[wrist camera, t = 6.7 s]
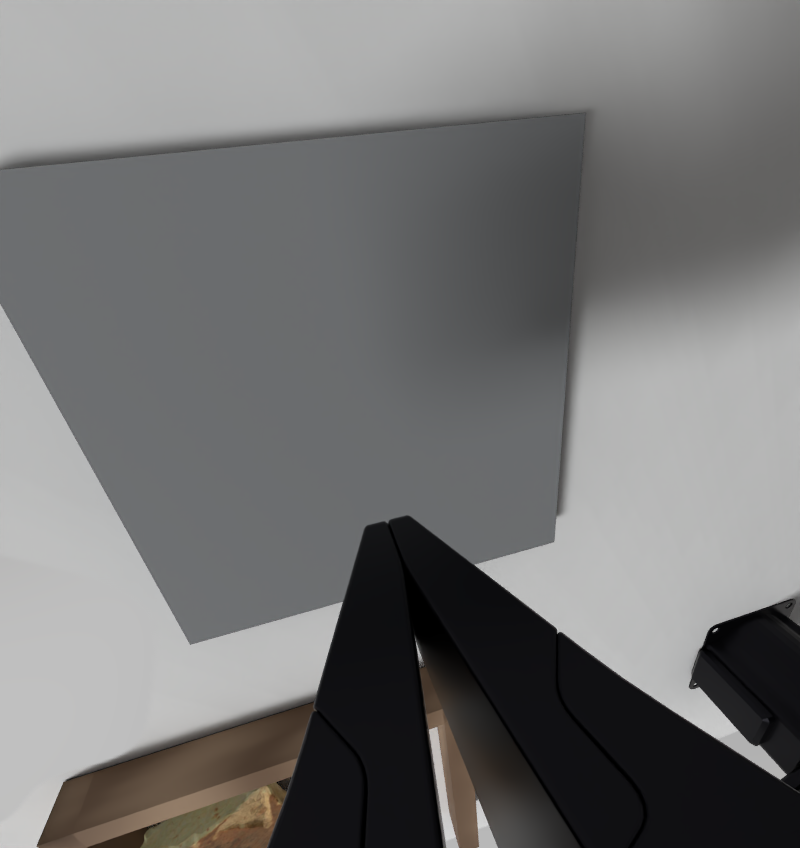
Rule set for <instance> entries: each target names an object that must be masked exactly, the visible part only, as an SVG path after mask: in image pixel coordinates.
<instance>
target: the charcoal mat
mask: <svg viewBox="0 0 800 848" xmlns="http://www.w3.org/2000/svg"><path fill="white" fill-rule="evenodd" d="M585 116H586V113H577V114H567V115H557V116H546V117H536V118H526V119H516V120H505V121H495V122H485V123H475V124H464V125H454V126H444V127H433V128H423V129H413V130H403V131H392V132H382V133H372V134H362V135H351V136H341V137H331V138H321V139H310V140H300V141H290V142H280V143H269V144H259V145H249V146H239V147H228V148H218V149H208V150H197V151H187V152H177V153H167V154H156V155H146V156H136V157H126V158H115V159H105V160H95V161H85V162H74V163H64V164H54V165H44V166H33V167H23V168H13V169H3V170H0V304H1V306H2V307H3V309H4V311H5V313H6V315H7V316H8V318H9V320H10V322H11V324H12V325H13V327H14V329H15V331H16V333H17V334H18V336H19V338H20V340H21V342H22V343H23V345H24V347H25V349H26V351H27V352H28V354H29V356H30V358H31V359H32V361H33V363H34V365H35V367H36V368H37V370H38V372H39V374H40V376H41V377H42V379H43V381H44V383H45V385H46V386H47V388H48V390H49V392H50V394H51V395H52V397H53V399H54V401H55V403H56V404H57V406H58V408H59V410H60V412H61V413H62V415H63V417H64V419H65V421H66V422H67V424H68V426H69V428H70V430H71V431H72V433H73V435H74V437H75V439H76V440H77V442H78V444H79V446H80V448H81V449H82V451H83V453H84V455H85V456H86V458H87V460H88V462H89V464H90V465H91V467H92V469H93V471H94V473H95V474H96V476H97V478H98V480H99V482H100V483H101V485H102V487H103V489H104V491H105V492H106V494H107V496H108V498H109V500H110V501H111V503H112V505H113V507H114V509H115V510H116V512H117V514H118V516H119V518H120V519H121V521H122V523H123V525H124V527H125V528H126V530H127V532H128V534H129V536H130V537H131V539H132V541H133V543H134V545H135V546H136V548H137V550H138V552H139V553H140V555H141V557H142V559H143V561H144V562H145V564H146V566H147V568H148V570H149V571H150V573H151V575H152V577H153V579H154V580H155V582H156V584H157V586H158V588H159V589H160V591H161V593H162V595H163V597H164V598H165V600H166V602H167V604H168V606H169V607H170V609H171V611H172V613H173V615H174V616H175V618H176V620H177V622H178V624H179V625H180V627H181V629H182V631H183V633H184V634H185V636H186V638H187V640H188V642H189V643H190V645H191V644H194V643H198V642H201V641H205V640H208V639H212V638H215V637H219V636H223V635H226V634H230V633H233V632H237V631H240V630H244V629H247V628H251V627H254V626H258V625H262V624H265V623H269V622H272V621H276V620H279V619H283V618H286V617H290V616H293V615H297V614H301V613H304V612H308V611H311V610H315V609H318V608H322V607H325V606H329V605H333V604H336V603H340V602H343V600H344V597H345V593H346V590H347V587H348V583H349V580H350V576H351V573H352V569H353V566H354V562H355V559H356V555H357V552H358V548H359V545H360V541H361V538H362V534H363V531H364V528H365V527H366V526H367V525H370V524H374V523H377V522H381V521H385V522H387V523H388V521H389V520H390V519H393V518H397V517H401V516H405V515H409V516H411V517H412V518H414V519H415V520H416V521H418V522H419V523H420V524H421V525H423V526H424V527H425V528H427V529H428V530H429V531H431V532H432V533H433V534H434V535H436V536H437V537H438V538H440V539H441V540H442V541H444V542H445V543H446V544H447V545H449V546H450V547H451V548H453V549H454V550H455V551H457V552H458V553H459V554H460V555H462V556H463V557H464V558H466V559H467V560H468V561H470V562H471V563H472V564H473V565H474V564H478V563H481V562H485V561H489V560H492V559H496V558H499V557H503V556H506V555H510V554H513V553H517V552H520V551H524V550H528V549H531V548H535V547H538V546H542V545H545V544H549V543H552V542H554V539H555V525H556V511H557V498H558V484H559V471H560V457H561V443H562V430H563V416H564V402H565V389H566V375H567V362H568V348H569V334H570V321H571V307H572V293H573V280H574V266H575V253H576V239H577V225H578V212H579V198H580V184H581V171H582V157H583V144H584V130H585Z"/></svg>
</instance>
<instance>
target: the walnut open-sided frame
mask: <svg viewBox="0 0 800 848" xmlns="http://www.w3.org/2000/svg"><path fill="white" fill-rule="evenodd" d="M420 674H421V680H422V687H423V694H424V701H425V708H426V714H427V721H428V728H429V729H432V728H435V727H438V734H439V741H440V748H441V755H442V762H443V769H444V777H445V784H446V791H447V798H448V805H449V812H450V816H451V820H452V824H453V827H454V831H455V835H456V839H457V842H458V845H459V848H477V847H479V842H478V827H477V813H476V799H475V789H474V786H473V784H472V781H471V779H470V776H469V774H468V771H467V769H466V766H465V764H464V761H463V759H462V756H461V754H460V751H459V749H458V746H457V744H456V741H455V739H454V736H453V734H452V731H451V729H450V726H449V724H448V721H447V719H446V716H445V714H444V711H443V709H442V706H441V704H440V701H439V699H438V696H437V694H436V691H435V689H434V686H433V684H432V681H431V679H430V676H429V674H428V671H427V669H426V667H423V668H420ZM313 705H314V702H313V703H310V704H307V705H304V706H301V707H298V708H294V709H291V710H288V711H285V712H282V713H279V714H276V715H272V716H269V717H266V718H263V719H260V720H257V721H254V722H250V723H247V724H244V725H241V726H238V727H235V728H232V729H228V730H225V731H222V732H219V733H216V734H213V735H210V736H206V737H203V738H200V739H197V740H194V741H191V742H188V743H184V744H181V745H178V746H175V747H172V748H169V749H166V750H162V751H159V752H156V753H153V754H150V755H147V756H144V757H140V758H137V759H134V760H131V761H128V762H125V763H122V764H118V765H115V766H112V767H109V768H106V769H103V770H100V771H96V772H93V773H90V774H87V775H84V776H81V777H78V778H74V779H71V780H68V781H65V782H63V785H62V787H61V790H60V792H59V794H58V797H57V799H56V801H55V804H54V806H53V809H52V811H51V813H50V816H49V818H48V820H47V823H46V825H45V828H44V830H43V832H42V835H41V837H40V839H39V842H38V844H37V847H38V848H140V847H141V846H142V844H143V842H144V834H145V833H146V831H147V830H148V828H147V826H150V825H153V824H156V823H159V822H162V821H165V820H167V819H170V818H173V817H176V816H179V815H182V814H185V813H188V812H191V811H194V810H196V809H199V808H202V807H205V806H208V805H211V804H214V803H217V802H220V801H223V800H225V799H228V798H231V797H234V796H237V795H240V794H243V793H246V792H249V791H252V790H255V789H257V788H260V787H263V786H266V785H269V784H272V783H275V782H278V781H281V780H284V779H286V778H289V777H292V774H293V771H294V768H295V765H296V761H297V758H298V755H299V752H300V749H301V746H302V742H303V739H304V735H305V732H306V728H307V725H308V721H309V718H310V715H311V713H312V712H313V711H314V708H313Z"/></svg>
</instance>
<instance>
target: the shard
mask: <svg viewBox="0 0 800 848" xmlns="http://www.w3.org/2000/svg"><path fill="white" fill-rule="evenodd" d="M286 793H287V791H285V790H283V789H282V788H281V787H280V786H279V785H278V784H277V783H276V782H275V783H272V784H269V785H266V786H263V787H260V788H257V789H255V790H252V791H249V792H246V793H243V794H240V795H237V796H234V797H231V798H228V799H225V800H223V801H220V802H217V803H214V804H211V805H208V806H205V807H202V808H199V809H196V810H194V811H191V812H188V813H185V814H182V815H179V816H176V817H173V818H170V819H168V820H166V821H164V822H162V823H161V824H159V825H157V826H155V827H153V828H150V829H148V830H147V831H146V833H145V834H144V842H143V844H142V846H141V847H140V848H267V845H268V843H269V840H270V837H271V834H272V832H273V829H274V826H275V824H276V821H277V818H278V815H279V813H280V810H281V807H282V805H283V802H284V799H285V796H286Z"/></svg>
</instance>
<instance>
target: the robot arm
mask: <svg viewBox="0 0 800 848" xmlns="http://www.w3.org/2000/svg"><path fill="white" fill-rule="evenodd" d="M789 603H791V604H790V606H788V607H787V608H785V607H786V606H787V605H788V604H789ZM795 603H796V601H795V600H794V599H790V600H787V601H784V602H781V603H778V604H775V605H772V606H769V607H766V608H763V609H761V610H758V611H755V612H752V613H749V614H746V615H743V616H740V617H737V618H734V619H731V620H728V621H725V622H722V623H720V624H717V625H714V626H713V627H711V628H710V629H709V631H708V633H707V636H706V639H705V641H704V644H703V647H702V650H701V651H699V653H698V656H697V659H696V662H695V665H694V668H693V671H692V679H691V681H690V684H689V688H690V689H695V688H698V687H700V688H701V689H702V690H703V691H704V692H705V694H706V695H707V696H708V697H709V698H710V699H711V700H712V701H713V702H714V704H715V705H716V706H717V707H718V708H719V709H720V710H721V711H722V713H723V714H724V715H725V716H726V717H727V718H728V719H729V720H730V721H731V723H732V724H733V725H734V726H735V727H736V728H737V729H738V730H739V731H740V733H741V734H742V735H743V736H744V737H745V738H746V739H747V740H748V741H749V742H750V743H751V744H753V745H755V746H758V745H760V746H761V747H762V748H763V749H764V750H765V751H766V752H767V753H768V755H769V756H770V757H771V758H772V759H773V760H774V761H775V762H776V763H777V764H778V765H779V767H780V768H781V769H782V770H783V771H784V772H785V773H786V774H787V775H786V776H785V777H784V778H782V779H781V780H780V779H778V778H776V777H775V776H773V775H772V774H770V773H769V772H767V771H766V770H764V769H762V768H761V767H759V766H758V765H756V764H755V763H753V762H752V761H750V760H748V759H747V758H745V757H744V756H742V755H741V754H739V753H737V752H736V751H734V750H733V749H731V748H730V747H728V746H727V745H725V744H723V743H722V742H720V741H719V740H717V739H716V738H714V737H712V736H711V735H709V734H708V733H706V732H705V731H703V730H702V729H700V728H698V727H697V726H695V725H694V724H692V723H691V722H689V721H687V720H686V719H684V718H683V717H681V716H680V715H678V714H677V713H675V712H673V711H672V710H670V709H669V708H667V707H666V706H664V705H663V704H661V703H660V702H658V701H657V700H655V699H654V698H652V697H651V696H649V695H648V694H646V693H645V692H643V691H642V690H640V689H639V688H637V687H636V686H634V685H633V684H631V683H630V682H628V681H627V680H625V679H624V678H622V677H621V676H620V675H618V674H617V673H616V672H614V671H613V670H611V669H610V668H609V667H607V666H606V665H605V664H603V663H602V662H601V661H599V660H598V659H596V658H595V657H594V656H592V655H591V654H590V653H588V652H587V651H585V650H584V649H583V648H582V647H580V646H579V645H578V644H576V643H575V642H574V641H572V640H571V639H570V638H569V637H567V636H566V635H565V634H563V633H562V632H559V633H558V634H557V629H556V628H555V627H554V626H553V625H551V624H550V623H549V622H548V621H546V620H545V619H544V618H542V617H541V616H540V615H538V614H537V613H536V612H535V611H533V610H532V609H531V608H529V607H528V606H527V605H525V604H524V603H523V602H522V601H520V600H519V599H518V598H516V597H515V596H514V595H512V594H511V593H510V592H509V591H507V590H506V589H505V588H503V587H502V586H501V585H499V584H498V583H497V582H496V581H494V580H493V579H492V578H490V577H489V576H488V575H486V574H485V573H484V572H483V571H481V570H480V569H479V568H477V567H476V566H475V565H473V564H472V563H471V562H470V561H468V560H467V559H466V558H464V557H463V556H462V555H460V554H459V553H458V552H457V551H455V550H454V549H453V548H451V547H450V546H449V545H447V544H446V543H445V542H444V541H442V540H441V539H440V538H438V537H437V536H436V535H434V534H433V533H432V532H431V531H429V530H428V529H427V528H425V527H424V526H423V525H421V524H420V523H419V522H418V521H416V520H415V519H414V518H412V517H411V516H409V515H405V516H401V517H397V518H393V519H390V520H389V521H388V523H387V522H385V521H381V522H377V523H374V524H370V525H367V526H366V527H365V528H364V531H363V534H362V538H361V541H360V545H359V548H358V552H357V555H356V559H355V562H354V566H353V569H352V573H351V576H350V580H349V583H348V587H347V590H346V593H345V597H344V600H343V604H342V607H341V611H340V614H339V618H338V621H337V625H336V628H335V632H334V635H333V639H332V642H331V646H330V649H329V653H328V656H327V660H326V663H325V667H324V670H323V674H322V677H321V681H320V684H319V688H318V691H317V695H316V698H315V702H314V705H313V708H314V711H313V712H312V713H311V715H310V718H309V721H308V725H307V728H306V732H305V735H304V739H303V742H302V746H301V749H300V752H299V755H298V758H297V761H296V765H295V768H294V771H293V774H292V777H291V780H290V784H289V787H288V790H287V793H286V796H285V799H284V802H283V805H282V807H281V810H280V813H279V815H278V818H277V821H276V824H275V826H274V829H273V832H272V834H271V837H270V840H269V843H268V845H267V848H446V844H445V836H444V830H443V823H442V816H441V809H440V802H439V796H438V789H437V782H436V775H435V769H434V762H433V755H432V748H431V741H430V735H429V728H428V721H427V714H426V708H425V701H424V694H423V687H422V680H421V674H420V667H419V660H418V654H417V647H416V642H417V645H418V648H419V651H420V653H421V656H422V659H423V661H424V664H425V666H426V669H427V671H428V674H429V676H430V679H431V681H432V684H433V686H434V689H435V691H436V694H437V696H438V699H439V701H440V704H441V706H442V709H443V711H444V714H445V716H446V719H447V721H448V724H449V726H450V729H451V731H452V734H453V736H454V739H455V741H456V744H457V746H458V749H459V751H460V754H461V756H462V759H463V761H464V764H465V766H466V769H467V771H468V774H469V776H470V779H471V781H472V784H473V786H474V789H475V791H476V794H477V796H478V799H479V801H480V804H481V806H482V809H483V811H484V814H485V816H486V819H487V821H488V824H489V826H490V829H491V831H492V833H493V836H494V838H495V841H496V844H497V846H498V848H800V626H798V625H797V624H796V623H794V622H793V621H792V620H791V619H789V616H790V614H791V612H792V609H793V607H794V605H795ZM716 628H718V630H717V631H716V632H714V633H712V631H713V630H714V629H716ZM415 639H416V641H415ZM695 683H697V684H696V685H695V686H693V685H694V684H695Z"/></svg>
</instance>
